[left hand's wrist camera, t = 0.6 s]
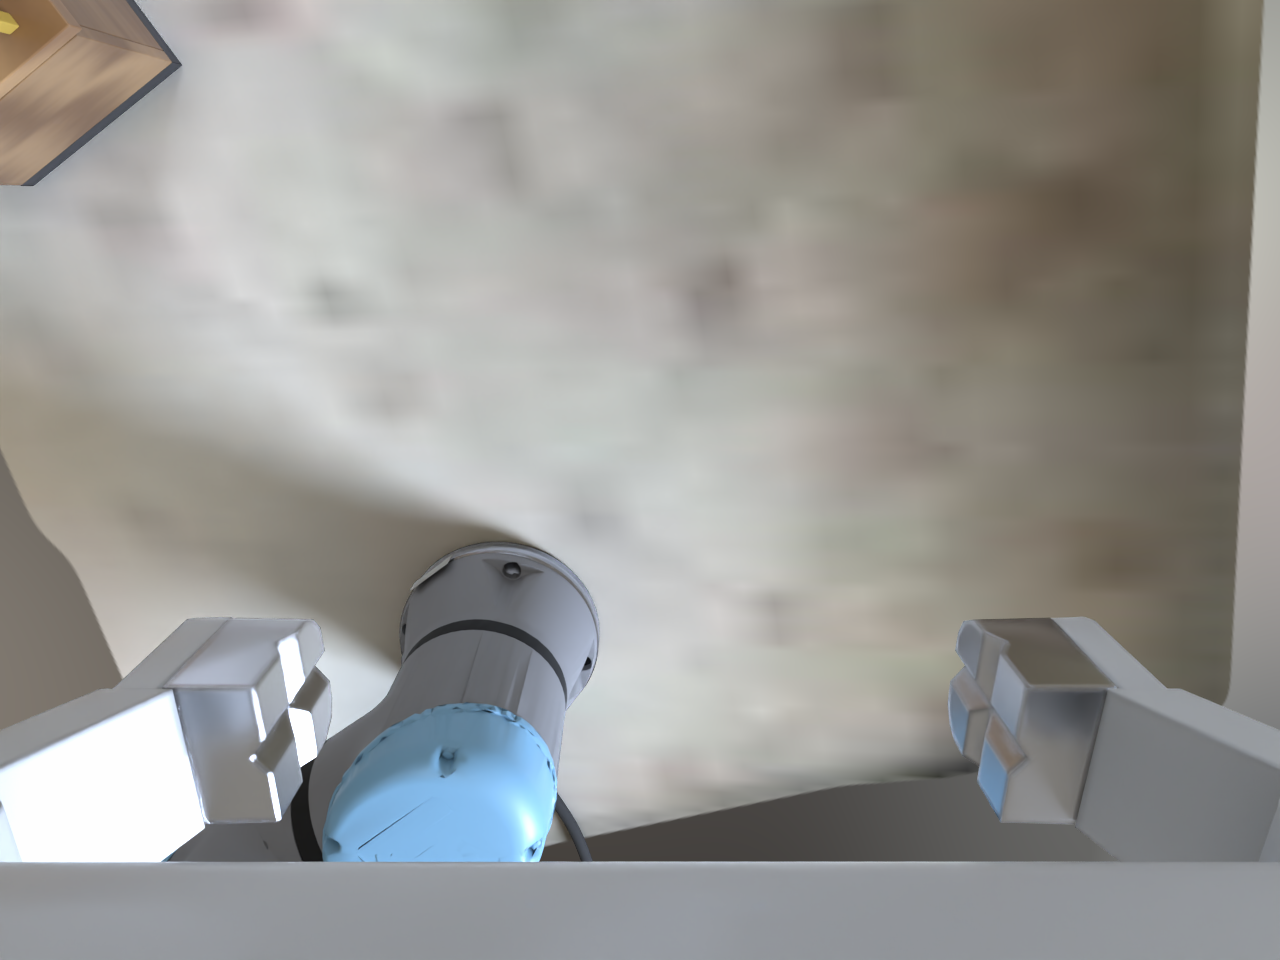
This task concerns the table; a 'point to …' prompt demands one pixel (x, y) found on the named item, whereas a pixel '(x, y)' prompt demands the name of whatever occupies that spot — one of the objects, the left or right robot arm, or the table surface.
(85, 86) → the chest
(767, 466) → the table surface
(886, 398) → the table surface
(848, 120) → the table surface
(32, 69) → the lid
